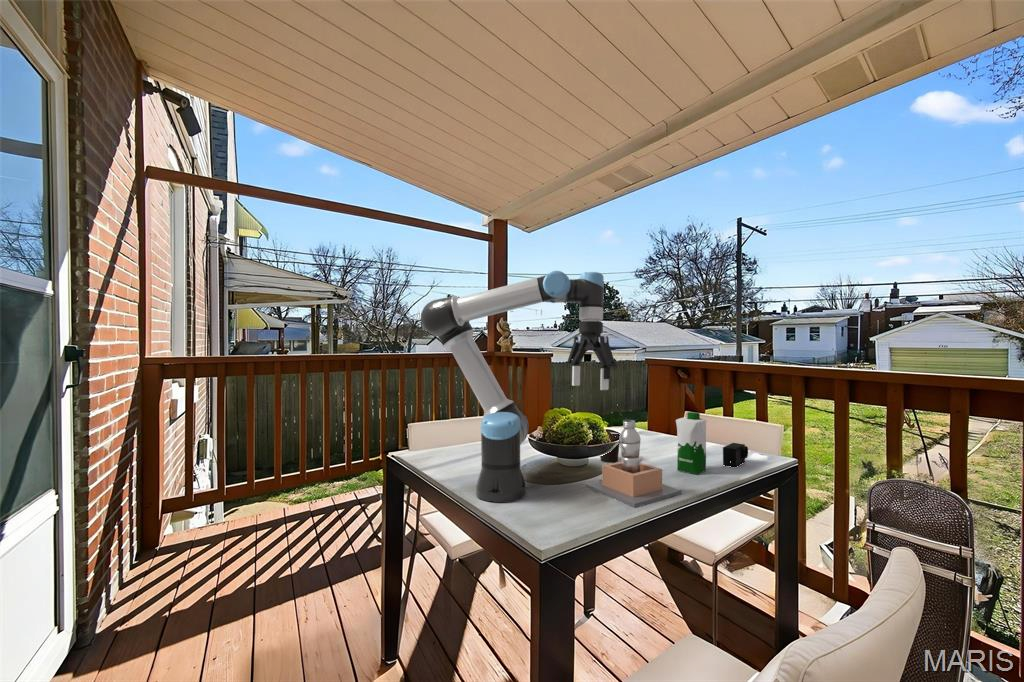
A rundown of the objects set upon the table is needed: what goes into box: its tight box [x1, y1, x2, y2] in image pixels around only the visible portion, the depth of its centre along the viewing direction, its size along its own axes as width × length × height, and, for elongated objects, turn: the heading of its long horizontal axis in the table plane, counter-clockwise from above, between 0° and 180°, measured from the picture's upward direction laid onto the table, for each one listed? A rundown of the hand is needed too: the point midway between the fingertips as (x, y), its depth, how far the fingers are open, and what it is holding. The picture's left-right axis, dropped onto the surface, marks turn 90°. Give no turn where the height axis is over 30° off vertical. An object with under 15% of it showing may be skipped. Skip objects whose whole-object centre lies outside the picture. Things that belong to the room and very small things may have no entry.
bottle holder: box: [584, 461, 682, 508], centre depth 130 cm, size 20×20×7 cm
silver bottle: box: [619, 419, 641, 474], centre depth 130 cm, size 6×7×20 cm
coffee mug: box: [599, 431, 621, 464], centre depth 165 cm, size 12×9×10 cm
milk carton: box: [675, 411, 707, 475], centre depth 150 cm, size 9×9×20 cm
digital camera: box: [722, 442, 749, 468], centre depth 157 cm, size 10×5×7 cm, turn 134°
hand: (589, 387), depth 137 cm, fingers open, 13 cm apart
